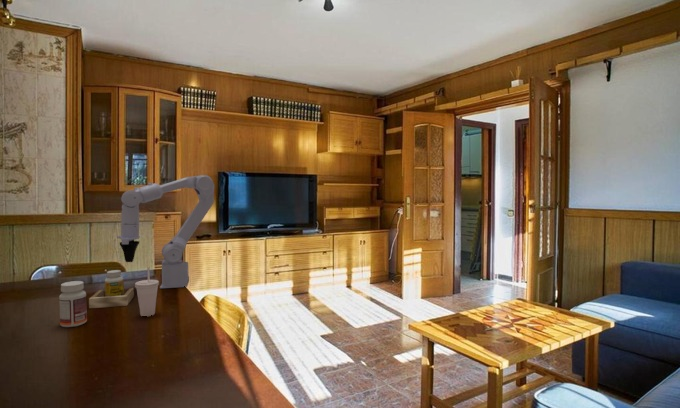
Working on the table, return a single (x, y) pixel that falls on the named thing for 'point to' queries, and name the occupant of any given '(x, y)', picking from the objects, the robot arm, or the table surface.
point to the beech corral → (110, 299)
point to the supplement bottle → (114, 284)
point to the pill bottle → (72, 304)
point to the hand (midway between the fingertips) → (129, 261)
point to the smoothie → (147, 295)
